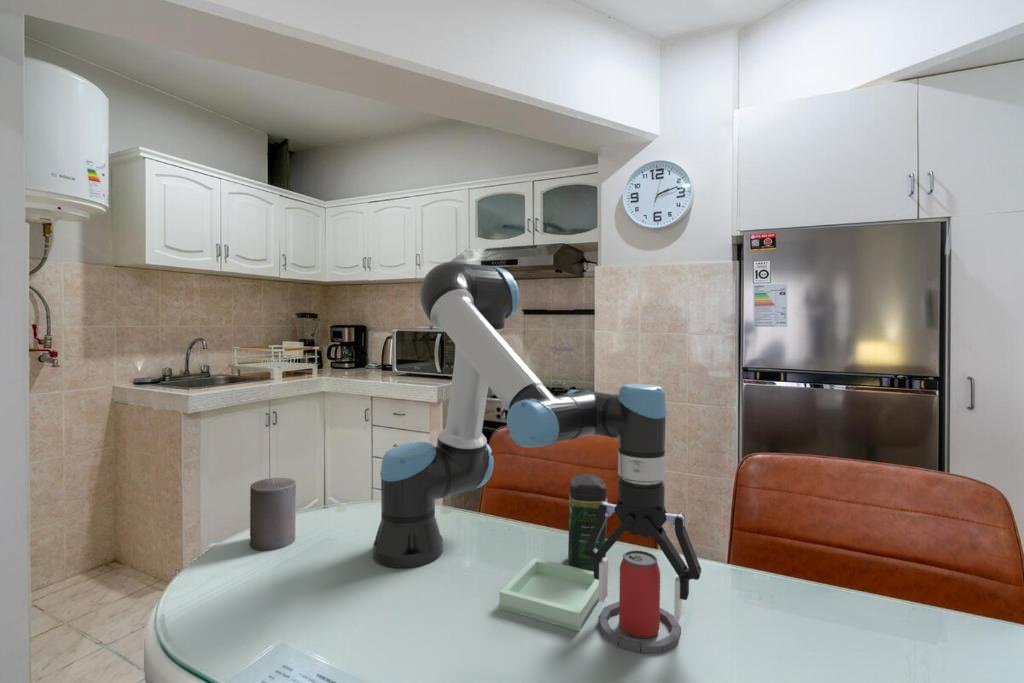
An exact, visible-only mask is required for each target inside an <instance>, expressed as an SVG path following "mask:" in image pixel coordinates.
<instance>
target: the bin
mask: <svg viewBox="0 0 1024 683" xmlns="http://www.w3.org/2000/svg"><path fill="white" fill-rule="evenodd" d="M599 602H600V601H599V580H598V579H595V578H594V572H593V571H589V570H584V569H580V568H576V567H571V566H570V565H566V564H562V563H558V562H554V561H550V560H544V559H540V558H536V557H534V558H532V559H531V560H530V561H529V562H528V563H527V564H526V565H525V566H524V567H523V568H522V569H521V570H520V571H519V572H518V573H517V574H516V575H515V576H514V577H513V578H512V579H511V580H509V582H507V584H506V585H505V586H504V587H502V589H501V590H500V591H499V609H501V610H503V611H507V612H512V613H514V614H518V615H521V616H524V617H528V618H532V619H535V620H539V621H542V622H545V623H549V624H553V625H556V626H559V627H564V628H566V629H570V630H574V631H576V632H581V630H582V628H583V626H584V625H585V623H586V622H587V621H588V619H589V618H590V616H591V614H592V613H593V611H594V609H595V607H596V606H597V604H598V603H599Z"/></svg>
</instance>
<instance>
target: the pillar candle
mask: <svg viewBox="0 0 1024 683" xmlns="http://www.w3.org/2000/svg"><path fill="white" fill-rule="evenodd" d="M296 484H297V480H295V479H293V478H290V477H270V478H269V477H268V478H265V479H264V478H263V479H260V480H257V481H255V482H253V483H251V484H250V487H249V488H250V490H249V491H250V492H249V494H250V496H249V500H250V501H249V502H250V504H249V506H250V507H249V508H250V509H249V530H250V531H249V536H250V537H249V538H250V541H249V547H250V548H251V549H252V550H256V551H262V552H267V551H274V550H275V551H276V550H278V549H282V548H286V547H287V546H290V545H291V544H293V543H295V540H296V522H297V521H296V518H297V517H296V512H297V508H296V502H297V500H296V494H297V491H296V490H297V485H296Z"/></svg>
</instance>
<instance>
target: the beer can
mask: <svg viewBox="0 0 1024 683" xmlns="http://www.w3.org/2000/svg"><path fill="white" fill-rule="evenodd" d="M660 601H661V570H660V566H659V563H658V558H657V557H656V556H655V555H654V554H652V553H650V552H648V551H644V550H637V549H636V550H635V549H634V550H628V551H626V552H625V553H623V555H622V559H621V562H620V566H619V600H618V602H619V612H618V614H619V615H618V625H619V626H620V628H621V630H622V631H623V632H625V633H626V634H628V635H630V636H631V637H635V638H640V639H648V638H652V637H654V636H655V635H657V634H658V632H659V630H660V621H661V619H660V608H661V602H660Z"/></svg>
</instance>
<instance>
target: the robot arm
mask: <svg viewBox="0 0 1024 683" xmlns="http://www.w3.org/2000/svg"><path fill="white" fill-rule="evenodd" d="M419 290H420V291H419V298H420V305H421V308H422V310H423V313H424V315H425V316H426V317H427V319H428V320H429V321H430V323H432V325H433V326H434V327H435V328H436V329H438V330H441V331H444V332H445V333H446V335H447V336H448V337H449V339H451V341H452V342H453V344H455V346H456V347H455V354H454V356H455V357H454V363H453V371H452V377H451V385H450V394H449V401H448V406H447V407H448V408H447V416H446V424H445V428H444V429H442V430H441V431H440V432H439V433H438V434H437V435H438V436H437V441H436V446H435V445H434V444H432V443H431V442H425V441H416V442H407V443H402V444H400V445H397V446H394V447H392V448H390V449H389V450H387V451H386V452H385V454H384V455H383V456H382V459H381V467H380V482H381V483H380V486H381V487H380V489H381V490H380V493H381V497H380V498H381V499H380V503H381V504H380V506H381V507H380V508H381V509H380V511H381V519H380V522H379V527H378V529H377V532H376V536H375V539H374V541H373V545H372V558H373V560H374V561H376V563H378V564H380V565H383V566H385V567H390V568H405V569H406V568H414V567H415V568H416V567H419V566H423V565H427V564H428V563H431V562H433V561H435V560H437V559H438V558H439V557H440V556H441V555H442V554H443V550H444V549H443V548H444V547H443V546H444V545H443V544H444V541H443V537H442V535H441V532H440V528H439V525H438V522H437V521H438V520H437V519H436V518H437V517H436V501H437V500H440V499H444V498H447V497H450V496H454V495H457V494H461V493H468V492H469V493H470V492H471V491H472V492H473V491H474V490H476V489H478V488H481V487H483V486H484V485H486V483H488V481H489V480H490V478H491V477H492V474H493V470H494V466H495V465H494V463H495V462H494V461H495V460H494V456H493V455H492V453H493V451H492V448H491V447H490V445H489V444H488V443H487V442H488V440H487V437H486V436H485V434H483V428H484V427H483V426H484V420H485V412H486V405H487V398H488V394H489V393H488V391H489V389H490V390H491V391H492V392H493V394H494V395H495V397H496V398H497V399H498V400H499V402H501V404H502V405H503V407H505V409H506V410H507V411H508V412H507V415H506V426H507V428H508V430H509V436H510V438H511V439H512V441H513V442H515V444H516V445H518V446H520V447H523V448H526V449H528V448H538V447H547V446H550V445H551V444H552V445H553V444H557V443H560V442H564V441H570V440H574V439H579V438H583V437H588V436H589V437H590V436H592V435H594V436H595V435H596V436H602V437H607V438H612V439H617V441H618V450H617V453H618V456H617V461H618V463H617V464H618V466H617V468H618V469H617V473H618V475H619V478H618V479H617V503H616V504H614V503H611V502H609V500H608V499H607V500H605V501H603V502H602V503H601V504H600V505H599V510H598V519H597V521H596V523H595V525H594V528H593V530H592V532H591V534H590V537H589V539H588V541H587V543H586V546H585V548H584V550H583V554H584V555H585V556H589V557H591V558H592V559H593V561H594V578H595V579H598V580H599V601H598V602H600V603H604V601H605V600H606V598H607V597H608V592H609V591H608V588H609V587H608V586H609V584H608V582H609V581H608V580H609V579H608V578H609V576H608V575H609V572H608V571H609V558H608V557H606V558H605V557H604V558H603V556H604V555H605V554H606V555H607V552H609V550H610V549H611V548H612V547H613V546H614V545H615V543H617V541H618V540H619V539H620V538H621V537H622V535H623V534H624V533H625V532H627V533H629V535H632V536H635V535H637V536H638V535H639V536H641V537H644V538H650V537H651V539H653V541H654V542H655V544H657V545H658V547H659V548H660V550H661V551H662V552H663V554H664V555H665V557H666V560H668V562H669V564H670V566H672V568H673V569H674V572H675V573H676V576H675V578H674V607H673V608H674V614H673V616H674V621H677V622H678V623H679V622H680V620H681V617H682V615H683V614H682V610H683V609H682V608H683V607H682V606H683V601H687V600H688V598H689V594H690V581H691V580H696V581H697V580H699V579H700V577H701V574H702V567H701V564H700V561H699V559H698V557H697V555H696V552H695V549H694V547H693V545H692V542H691V541H692V540H691V539H690V536H689V533H688V531H687V528H686V520H685V519H686V518H685V513H683V512H681V511H680V512H678V513H677V514H676V513H669V512H667V510H666V507H665V490H666V489H665V488H666V487H665V485H666V484H665V481H664V478H665V477H666V454H665V453H666V451H665V450H666V448H665V447H666V446H665V445H666V418H667V416H668V415H667V414H668V413H667V408H666V407H667V406H666V393H665V390H664V389H663V388H662V387H661V386H658V385H655V384H643V383H642V384H640V383H629V384H628V383H626V384H623V385H621V386H620V388H619V389H618V391H619V392H618V394H616V393H607V392H600V391H595V390H594V391H592V390H590V389H571V390H568V391H567V392H566V393H565V394H564V395H554V394H553V393H552V392H551V391H550V390H549V389H548V388H547V386H546V385H544V383H543V382H542V381H541V380H540V379H539V377H538V376H537V375H536V374H535V372H533V371H532V370H531V369H530V368H529V366H528V365H527V364H526V363H525V362H524V361H523V359H521V357H520V355H518V354H517V353H516V352H515V350H514V349H513V348H512V347H511V346H510V345H509V343H508V342H507V341H506V340H505V339H504V338H503V336H501V335H500V333H501V332H502V331H503V330H504V328H505V323H506V319H509V318H511V317H512V316H513V315H514V313H516V311H517V310H518V307H519V302H520V292H519V287H518V284H517V281H516V280H515V278H514V276H513V275H512V274H511V273H510V272H509V271H508V270H507V269H504V268H501V267H497V266H493V265H485V264H483V265H482V264H471V263H464V262H457V261H456V262H455V261H450V262H447V261H446V262H443V263H440V264H437V265H436V266H434V267H432V268H431V269H430V270H429V271H428V272H427V273H426V275H425V276H424V278H423V280H422V283H421V286H420V289H419ZM613 513H615V515H616V517H617V518H618V520H619V522H620V524H619V525H618V526H617V527H616V528H615V530H614V531H613V532H612V533H611V534H610V536H609V537H608V538H606V541H605V543H604V544H603V545H602V546H601V547H600V549H599V550H598V549H596V548H594V547H595V545H596V543H597V541H598V538H599V536H600V534H601V532H602V529H603V527H604V525H605V523H606V521H608V518H609V517H611V516H612V514H613ZM666 522H668V523H669V525H670V527H671V529H674V533H675V536H676V539H677V541H678V544H679V546H680V549H681V552H682V555H683V557H684V560H685V561H684V560H683V558H682V557H681V555H680V553H679V552H678V551H677V549H676V546H674V544H673V543H672V541H671V540H670V538H669V536H668V535H667V532H666V530H665V529H664V527H663V525H664V524H665V523H666ZM685 562H686V563H685Z"/></svg>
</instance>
